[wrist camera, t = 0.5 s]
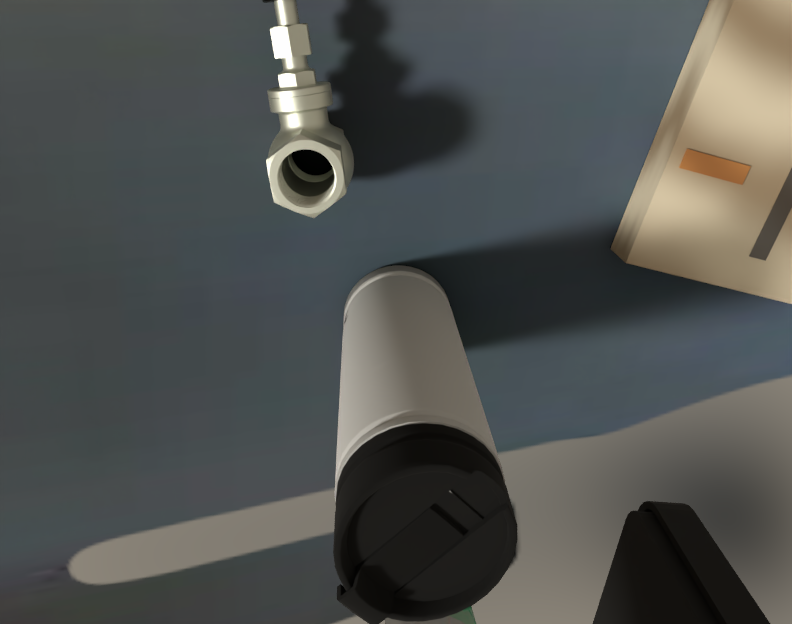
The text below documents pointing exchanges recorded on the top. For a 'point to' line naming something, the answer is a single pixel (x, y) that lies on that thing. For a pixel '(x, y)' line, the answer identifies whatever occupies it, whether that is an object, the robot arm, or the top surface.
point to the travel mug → (413, 459)
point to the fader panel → (722, 159)
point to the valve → (303, 123)
